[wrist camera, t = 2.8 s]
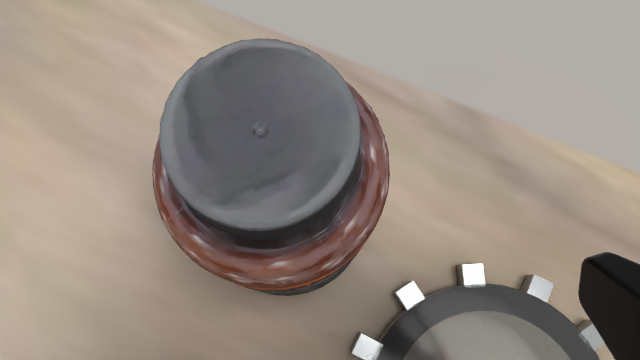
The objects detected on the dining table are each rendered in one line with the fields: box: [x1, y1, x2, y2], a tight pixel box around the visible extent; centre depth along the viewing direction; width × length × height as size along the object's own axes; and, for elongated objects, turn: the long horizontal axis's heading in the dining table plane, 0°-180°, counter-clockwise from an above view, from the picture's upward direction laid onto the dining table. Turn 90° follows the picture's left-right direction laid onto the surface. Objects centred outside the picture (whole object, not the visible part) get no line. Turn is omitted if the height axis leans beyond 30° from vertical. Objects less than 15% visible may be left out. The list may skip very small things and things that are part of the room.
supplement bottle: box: [152, 39, 390, 296], centre depth 16 cm, size 6×6×11 cm
